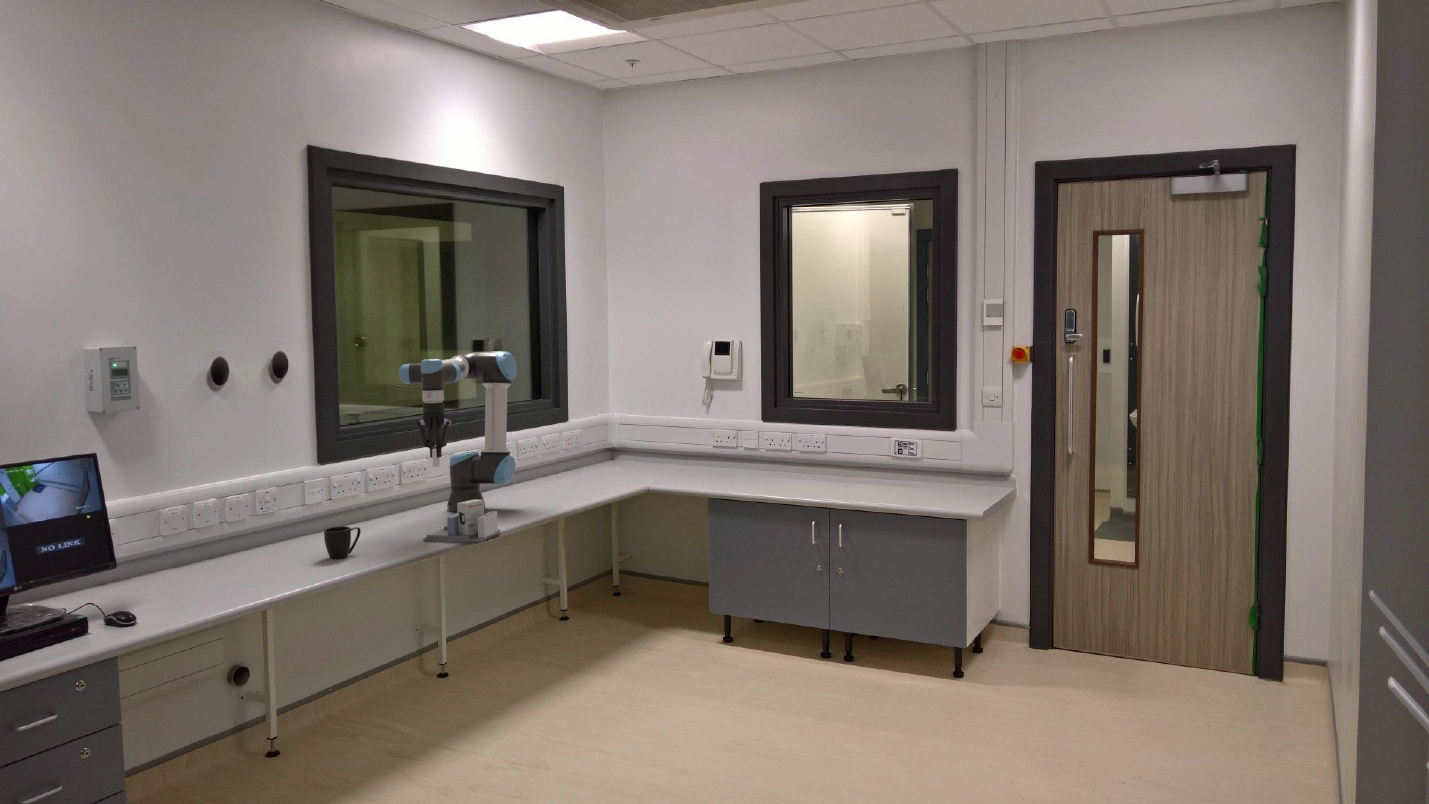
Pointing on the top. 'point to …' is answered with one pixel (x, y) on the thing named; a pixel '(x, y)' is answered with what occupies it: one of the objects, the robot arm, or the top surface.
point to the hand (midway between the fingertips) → (436, 466)
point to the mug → (339, 541)
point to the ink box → (469, 516)
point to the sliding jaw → (453, 524)
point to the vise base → (485, 532)
